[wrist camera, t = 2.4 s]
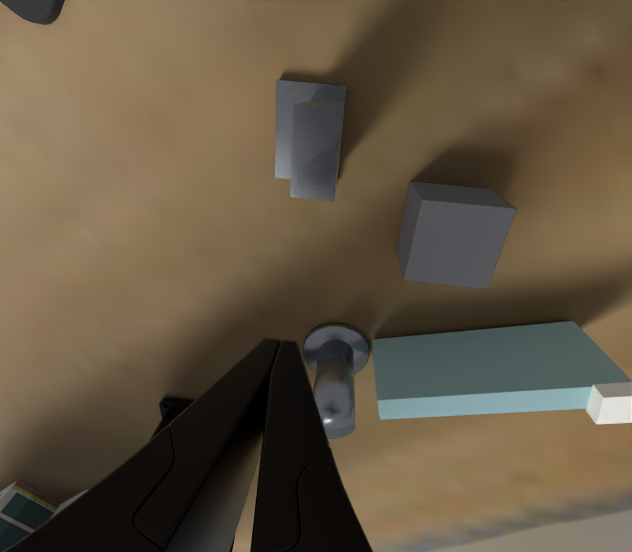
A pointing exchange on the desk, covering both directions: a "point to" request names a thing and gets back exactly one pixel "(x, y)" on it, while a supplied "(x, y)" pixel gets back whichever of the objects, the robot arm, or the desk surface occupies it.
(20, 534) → the building model
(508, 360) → the light blue bar
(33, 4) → the phone
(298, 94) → the grey block
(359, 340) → the post
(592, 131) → the desk surface
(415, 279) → the dark gray cube
